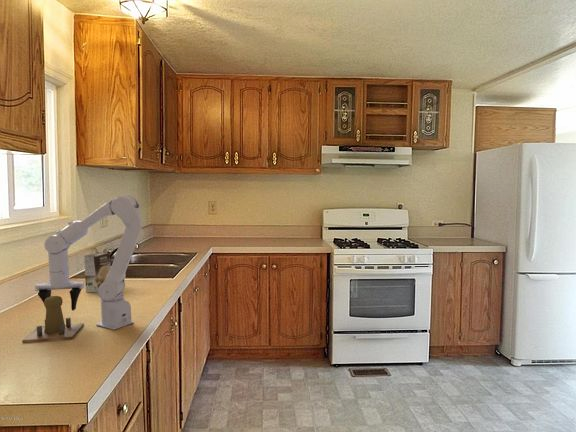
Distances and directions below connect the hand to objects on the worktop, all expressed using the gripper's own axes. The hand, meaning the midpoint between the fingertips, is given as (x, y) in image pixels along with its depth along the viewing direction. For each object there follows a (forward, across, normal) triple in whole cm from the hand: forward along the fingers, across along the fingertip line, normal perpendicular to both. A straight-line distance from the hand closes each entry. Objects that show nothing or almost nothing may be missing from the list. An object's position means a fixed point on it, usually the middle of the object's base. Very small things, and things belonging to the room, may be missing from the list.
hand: (61, 310), depth 139 cm
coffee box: (+6, 0, -46) cm, 47 cm away
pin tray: (+5, 0, +7) cm, 9 cm away
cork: (+5, 0, +6) cm, 8 cm away
